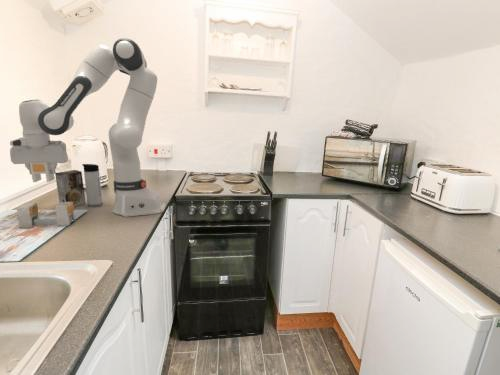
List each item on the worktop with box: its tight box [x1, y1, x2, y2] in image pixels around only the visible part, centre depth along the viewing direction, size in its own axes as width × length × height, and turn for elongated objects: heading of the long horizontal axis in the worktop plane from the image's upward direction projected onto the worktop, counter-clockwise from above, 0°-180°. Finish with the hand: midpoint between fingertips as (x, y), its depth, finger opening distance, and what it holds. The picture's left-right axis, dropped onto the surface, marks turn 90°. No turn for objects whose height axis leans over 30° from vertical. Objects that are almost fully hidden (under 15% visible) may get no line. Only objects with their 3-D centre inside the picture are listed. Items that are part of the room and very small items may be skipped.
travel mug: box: [82, 163, 103, 208], centre depth 139 cm, size 6×7×20 cm
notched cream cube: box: [30, 163, 56, 183], centre depth 124 cm, size 6×6×8 cm
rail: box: [15, 202, 76, 229], centre depth 115 cm, size 18×6×8 cm, turn 101°
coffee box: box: [54, 169, 87, 208], centre depth 138 cm, size 9×6×16 cm
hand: (43, 173), depth 124 cm, fingers closed on notched cream cube, 6 cm apart
